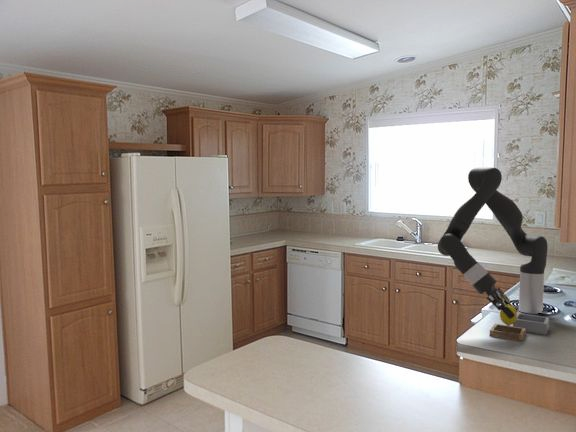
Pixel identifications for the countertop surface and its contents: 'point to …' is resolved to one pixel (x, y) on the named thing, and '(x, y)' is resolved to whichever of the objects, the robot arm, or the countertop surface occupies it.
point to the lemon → (506, 319)
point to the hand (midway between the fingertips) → (513, 315)
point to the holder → (532, 323)
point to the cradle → (505, 334)
